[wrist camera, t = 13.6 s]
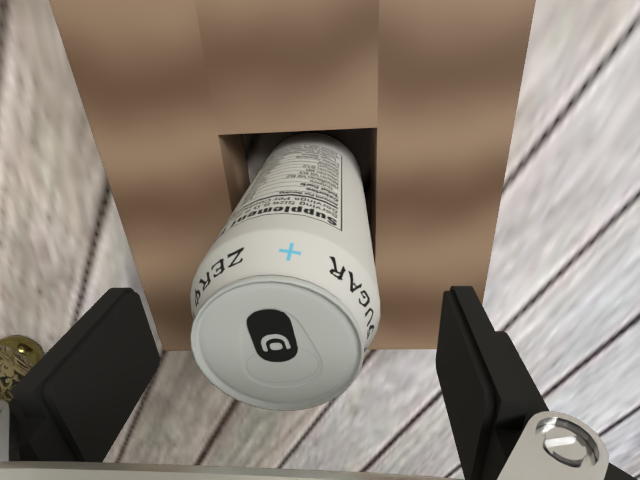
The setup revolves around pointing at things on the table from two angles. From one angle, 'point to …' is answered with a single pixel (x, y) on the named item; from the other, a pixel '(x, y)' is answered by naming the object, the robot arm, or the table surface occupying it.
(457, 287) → the robot arm
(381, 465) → the table surface
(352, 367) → the energy drink can
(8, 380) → the cup
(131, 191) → the socket board
